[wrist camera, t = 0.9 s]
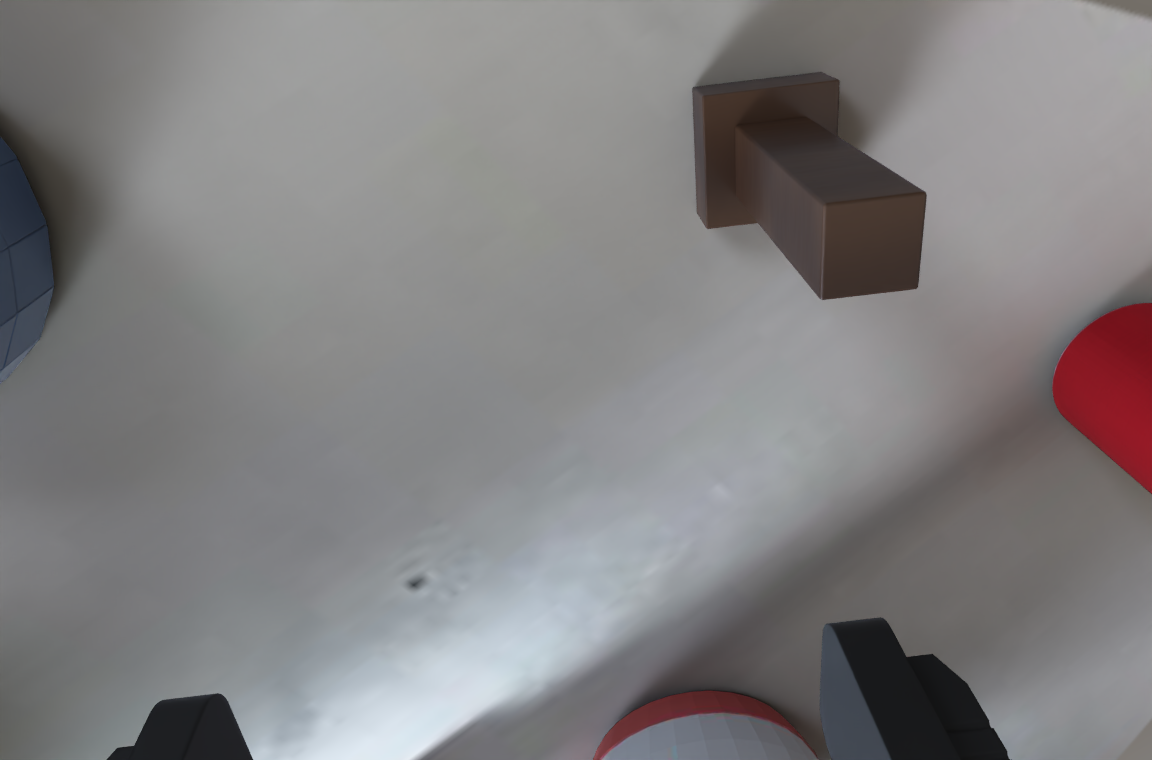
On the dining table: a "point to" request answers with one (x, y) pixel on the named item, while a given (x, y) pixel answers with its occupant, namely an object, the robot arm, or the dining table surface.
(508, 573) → the dining table surface
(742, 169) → the square wall hook
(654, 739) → the citrus juicer
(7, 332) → the bowl
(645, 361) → the dining table surface
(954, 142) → the dining table surface
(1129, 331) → the beverage can
